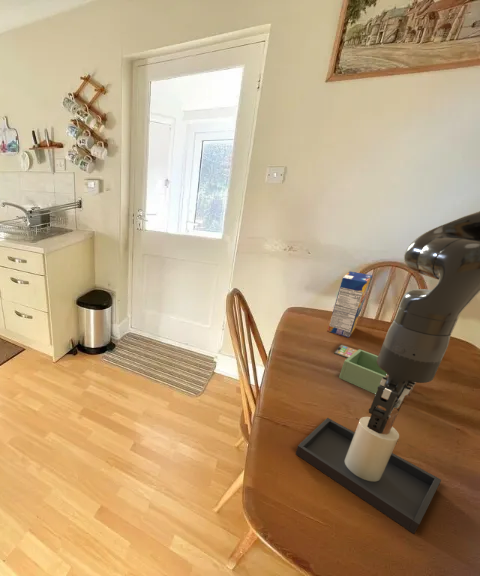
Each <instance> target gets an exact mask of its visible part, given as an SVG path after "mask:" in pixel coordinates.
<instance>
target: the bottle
mask: <svg viewBox="0 0 480 576" xmlns="http://www.w3.org/2000/svg"><path fill="white" fill-rule="evenodd" d="M378 408H380V409H382V410H384V411H386V409H385V408H384V407H382V406H378ZM398 415H399V412H398V410H397V409H394V410H393V412H392V414H391V418H389V419H388V421H387V424H386V426H385V429H384V431H383V432H382V433H381V434H379V433H377V432H375V431H373V430H371V429H369V428H368V427H367V425H368V422H369V420H370V417H371V416H362V417H360V419H359V420H358V423H357V425H356V428H355V431H354V432H355V433H354V436H353V439H352V441H351V444H350V447H349V449H348V452H347V455H346V457H345V465H346V466H347V468H348V469H349V470H350V471H351V472H352V473H354V474H355V475H356V476H358V477H360V478H362V479H364V480H367V481H372V482H376V481H379V480H380V479H381V477H382V475H383V472H384V470H385V468H386V466H387V464H388V461H389V459H390V457H391V455H392V453H394V450H395V448H396V446H397V443H398V441H399V439H400V433H399V431H397V429H396V428H395V427H393V426H394V424H395V421H396V419H397V417H398Z"/></svg>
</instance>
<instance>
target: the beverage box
mask: <svg viewBox="0 0 480 576" xmlns="http://www.w3.org/2000/svg"><path fill="white" fill-rule="evenodd" d="M373 276H374V275H372V274H368V273H367V274H366V273H361V272H357V271H351V270H349V271H348V272H347V273H346V274H345V275H344V276H343V277H342V279H341V282H340V285H339V289H338V293H337V296H336V299H335V303H334V306H333V309H332V313H331V317H330V320H329V323H328V326H327V330H326V331H327V333H328V332H329V333H332V334H334V335H339V336H341V337H344V338H348V339H349V338H350V337H351V336H352V334H353V333H354V331H355V329H356V328H357V324H358V321H359V318H360V315H361V312H362V309H363V306H364V303H365V300H366V296H367V293H368V290H369V288H370V285H371V282H372V278H373Z"/></svg>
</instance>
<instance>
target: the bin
mask: <svg viewBox="0 0 480 576" xmlns="http://www.w3.org/2000/svg"><path fill="white" fill-rule="evenodd" d="M357 350H358V351H356V352H355V353H354V354H352V355H351V356H350V357H349V358H346V359H344V361H343V364H342V367H341V369H340V373H339V377H338V379H341V380H343V381H345V382H347V383H349V384H351V385H354V386H356V387H358V388H361V389H363V390H365V391H367V392H369V393H372V394H374V395H376V393H377V390H378V389H377V388H378V386H380V381H381V380H382V378H383V377H386V374H387V373H386V372H385V371H384V370H382V369H381V368H380V367H379V366H378V364H377V358H378V356H379V355H377V354H374V353H372V352H368V351H367V350H363V349H360V348H359V349H357Z"/></svg>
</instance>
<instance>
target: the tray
mask: <svg viewBox="0 0 480 576" xmlns="http://www.w3.org/2000/svg"><path fill="white" fill-rule="evenodd" d="M354 433H355V431H353V430H351V429H349V428H347V427H346V426H344V425H342V424H340V423H339V422H337V421H334V420H333V419H331V418H329V417H326V418H325V420H323V421H322V423H320V424H319V425H318V426H317V427H316V428H314V430H313V431H311V433H309V435H307V436H306V437H305V438H304V439H303V440H302V441H301V442H300V443H299V444H298V445H297V447H296V451H295V455H296V456H297V457H299V458H300V459H301V460H303V461H304V462H306V463H308V465H311V466H312V467H314V468H315V469H316V470H318V471H319V472H321V473H323V474H324V475H326V476H327V477H329V478H330V479H332V480H333V481H335V482H336V483H337V484H339V485H340V486H341V487H343V488H344V489H346V490H347V491H349V492H351V494H354V495H356V497H358V498H359V499H361V500H363V501H364V502H365V503H367V504H369V505H370V506H372V507H373V508H374V509H376V510H377V511H379V512H381V513H382V514H383V515H385V516H386V517H388V518H389V519H391V520H392V521H394V522H395V523H397V524H398V525H400V526H401V527H403V528H404V529H406V530H407V531H409V532H410V533H411V534H413V535H415V534H416V531H417V530H418V528H419V526H420V525H421V522H422V520H423V518H424V517H425V514H426V512H427V511H428V508H429V506H430V504H431V502H432V500H433V498H434V496H435V494H436V492H437V490H438V488H439V486H440V483H441V482H442V479H441V478H439V477H437V476H436V475H434V474H432V473H430V472H428V471H427V470H424V469H423V468H421V467H419V466H417V465H415V464H413V463H412V462H410V461H408V460H407V459H404V458H402V457H401V456H399V455H397V454H396V453H394V452H392V455H391V457H390V459H389V461H388V464H387V466H386V468H385V470H384V472H383V475H382V477H381V479H380V480H379V481H376V482H372V481H367V480H364V479H362V478H360V477H358V476H356V475H355V474H354V473H352V472H351V471H350V470H349V469H348V468H347V466H346V465H345V457H346V455H347V452H348V449H349V447H350V444H351V441H352V439H353V436H354Z"/></svg>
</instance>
